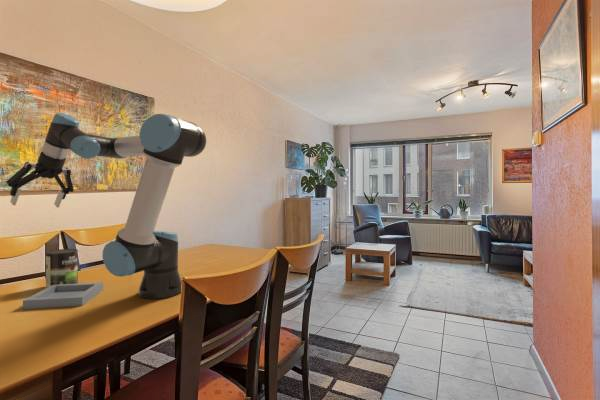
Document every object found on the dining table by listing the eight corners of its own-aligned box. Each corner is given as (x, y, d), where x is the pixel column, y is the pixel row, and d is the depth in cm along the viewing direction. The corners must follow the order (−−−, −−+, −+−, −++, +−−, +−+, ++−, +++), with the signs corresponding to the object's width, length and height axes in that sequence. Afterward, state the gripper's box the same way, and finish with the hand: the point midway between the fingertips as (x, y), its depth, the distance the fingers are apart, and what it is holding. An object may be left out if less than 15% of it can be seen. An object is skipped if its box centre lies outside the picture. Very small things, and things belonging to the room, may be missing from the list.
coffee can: (84, 283, 128) (84, 249, 128) (60, 291, 118) (60, 254, 118) (63, 281, 130) (63, 248, 130) (38, 289, 120) (37, 252, 120)
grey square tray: (103, 289, 120) (103, 282, 120) (82, 305, 104) (82, 297, 104) (53, 292, 117) (52, 284, 117) (22, 309, 100) (22, 300, 100)
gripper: (85, 157, 128) (68, 202, 131) (6, 142, 106) (-12, 197, 109) (94, 165, 124) (76, 211, 128) (14, 151, 102) (-5, 207, 106)
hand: (35, 204), depth 119 cm, fingers open, 13 cm apart
